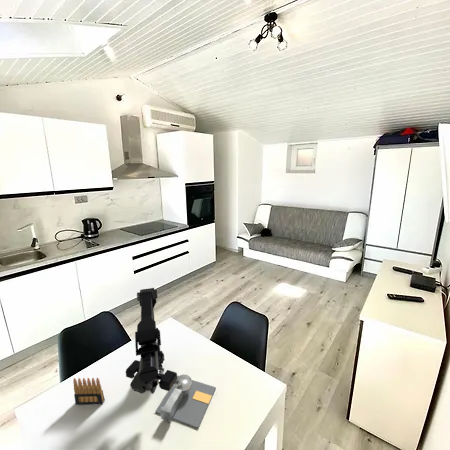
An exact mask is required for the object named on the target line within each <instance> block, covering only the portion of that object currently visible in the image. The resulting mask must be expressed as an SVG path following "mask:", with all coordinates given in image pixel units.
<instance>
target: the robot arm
mask: <svg viewBox="0 0 450 450" xmlns="http://www.w3.org/2000/svg"><path fill="white" fill-rule="evenodd" d="M158 297H159V295H158V289H155V287H151V288H142V289H140V290H139V291H138V292H136V301H137V302H139V306H140V321H139V322H138V323H137V327H136V331H135V332H134V338H135V339H134V341H135V343H134V346H135V356H137V357H138V356H140V359H139V360H137V359H135V360H133V361H132V362H131V364H130V365H129V366H128V367H127V368H126V369H125V377H126V378H129V379H132V380H131V382H130V384H129V385H130V387H131V389H132V390H133V392H136V393H139V394H142V395H143V394H144V393H146V392H150V393H151V394H152V395H153V394H155V393H156V390H157V387H158V386H159V389H161V390H163V391H165V392H168V391H169V390H170V389H171V388H172V386H173V384H174V383H175V381H176V380H177V377H178V373H177V372H175V371H172V370H169V369H167V370H166V371H165V368H163V364H164V361H165V354H164V352H163V350H161V346H162V341H161V330H159V327H157V326H156V325H157V324H156V320H155V312H154V311H155V310H154V308H155V306H156V304H157V299H158ZM139 346H140V347H139ZM164 371H165V372H164ZM163 372H164V373H163Z"/></svg>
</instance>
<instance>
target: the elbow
mask: <svg viewBox="0 0 450 450" xmlns="http://www.w3.org/2000/svg"><path fill="white" fill-rule="evenodd" d="M192 380H193V379H192V378H191V376H190V375H189V374H180V375H177V380H176V381H175V383H174V388H175V389H174V391H173V393H172V394H171V396H170V397H169V399H168V401H167V402H166V404H165V406H164V407H161V409H160V412H161V414H160V419H161V420H162V421H163V420H164V421H166V422H168V423H171V422H172V421H173V419H172V416H173V415H174V413H175V411H176V409H177V407H178V406H179V404H180V402H181V400H182V399H183V393H186V392H188V391H189V390H190V389H191V386H192Z"/></svg>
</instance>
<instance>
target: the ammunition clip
mask: <svg viewBox="0 0 450 450" xmlns="http://www.w3.org/2000/svg"><path fill="white" fill-rule="evenodd" d="M95 380H96V381H95ZM73 390H74V394H73V395H74V401H75V403H74V404H75V405H76V406H80V405H81V406H85V405H87V406H89V405H91V406H93V405H103V404H104V402H105V396H104V395H105V394H104V390H103V389H102V385H101V382H100V378H99V377H96V379H95V378H94V377H92V378H91V379H90V377H87V379H86V378H85V377H83V378H82V379H81V378H80V377H78V379H76V378H75V377H74V378H73Z"/></svg>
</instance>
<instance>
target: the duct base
mask: <svg viewBox="0 0 450 450" xmlns="http://www.w3.org/2000/svg"><path fill="white" fill-rule="evenodd" d="M191 380H192V386H191V389H190V390H189V391H188V392H186V393H183V399H182V400H181V402H180V404H179V406H178V407H177V409H176V411H175V413H174V415H173V416H172V420H174V421H176V422H179V423H182V424H184V425H187V426H188V427H189V426H190V427H193V428H195V429H197V430H199V429H200V426H201V424H202V421H203V419H204V416H205V415H206V412H207V410H208V407H209V405H210V403H211V401H212V399H213V397H214V394H215V391H216V389H217V388H216V386H213V385H210V384H207V383H203V382H201V381H200V382H199V381H198V380H194V379H191ZM174 389H175V388H174V384H173V386H172V388H171V389H170V390H169V391H166V394H165V395H164V397H163V398H162V400H161V402H160V403H159V404H158V406H157V408H156V410H155V413H156V414H159V415H161V412H160V409H161V407H164V406H165V404H166V402H167V401H168V399H169V397H170V396H171V394H172V393H173V391H174Z"/></svg>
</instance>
